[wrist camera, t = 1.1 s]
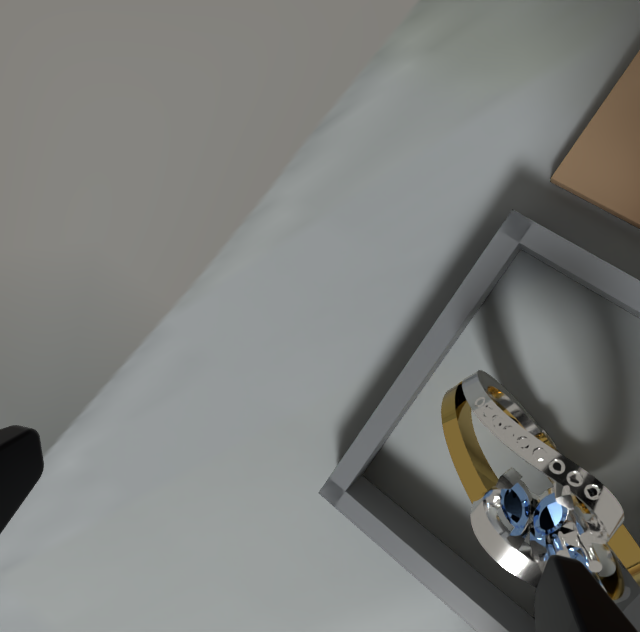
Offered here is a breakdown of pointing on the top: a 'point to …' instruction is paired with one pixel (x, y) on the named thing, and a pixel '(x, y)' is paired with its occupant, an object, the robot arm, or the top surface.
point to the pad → (609, 153)
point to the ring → (520, 504)
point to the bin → (346, 480)
